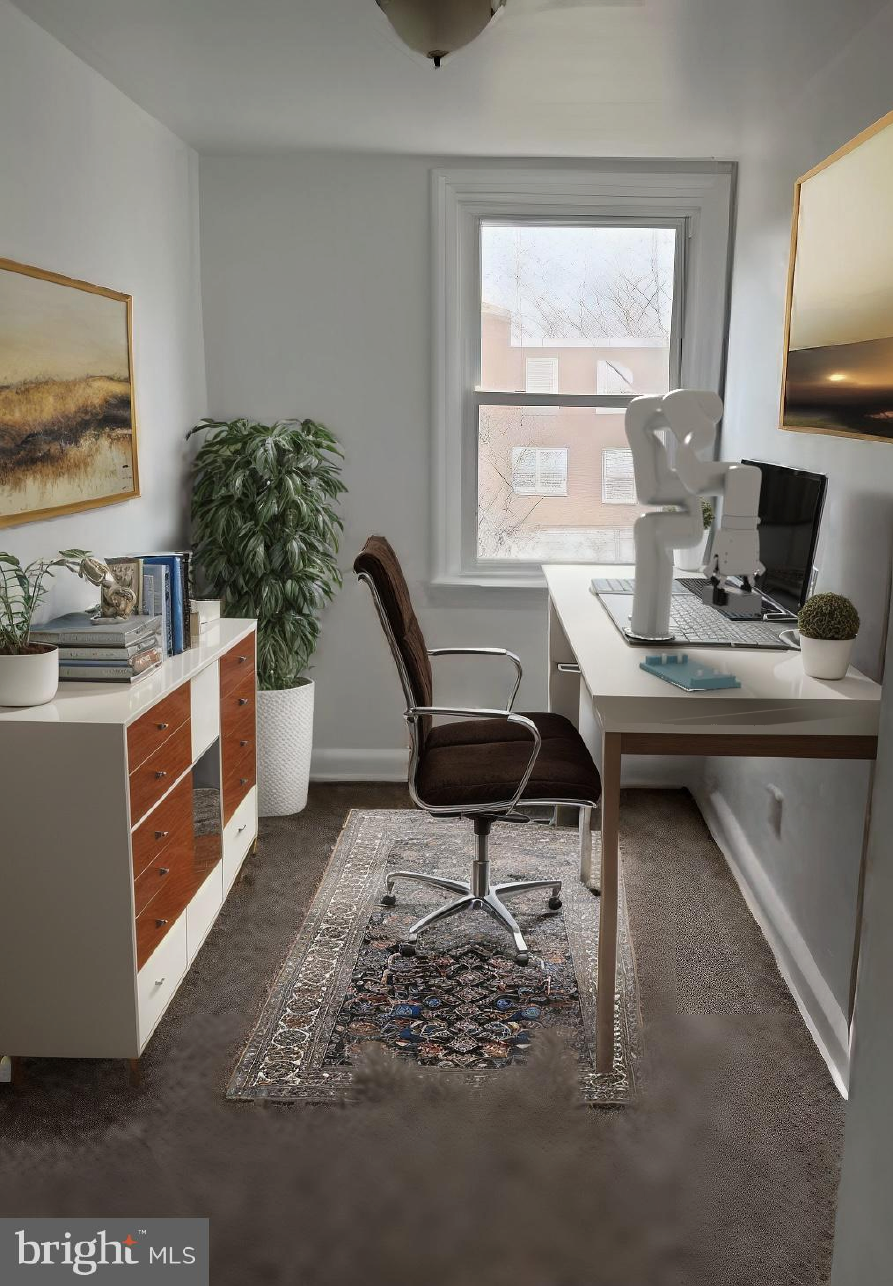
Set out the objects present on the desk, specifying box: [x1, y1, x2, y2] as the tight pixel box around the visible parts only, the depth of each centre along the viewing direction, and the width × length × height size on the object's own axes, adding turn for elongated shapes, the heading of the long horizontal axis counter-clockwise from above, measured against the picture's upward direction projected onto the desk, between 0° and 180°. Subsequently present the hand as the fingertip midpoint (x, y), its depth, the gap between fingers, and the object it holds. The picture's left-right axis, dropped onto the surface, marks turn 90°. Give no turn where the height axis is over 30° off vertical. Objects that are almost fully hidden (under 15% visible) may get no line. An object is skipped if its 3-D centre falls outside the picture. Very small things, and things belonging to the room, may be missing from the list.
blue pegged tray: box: [639, 651, 742, 690], centre depth 228 cm, size 20×13×4 cm, turn 20°
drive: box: [701, 584, 763, 616], centre depth 229 cm, size 12×6×4 cm, turn 27°
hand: (731, 603), depth 229 cm, fingers closed on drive, 6 cm apart
